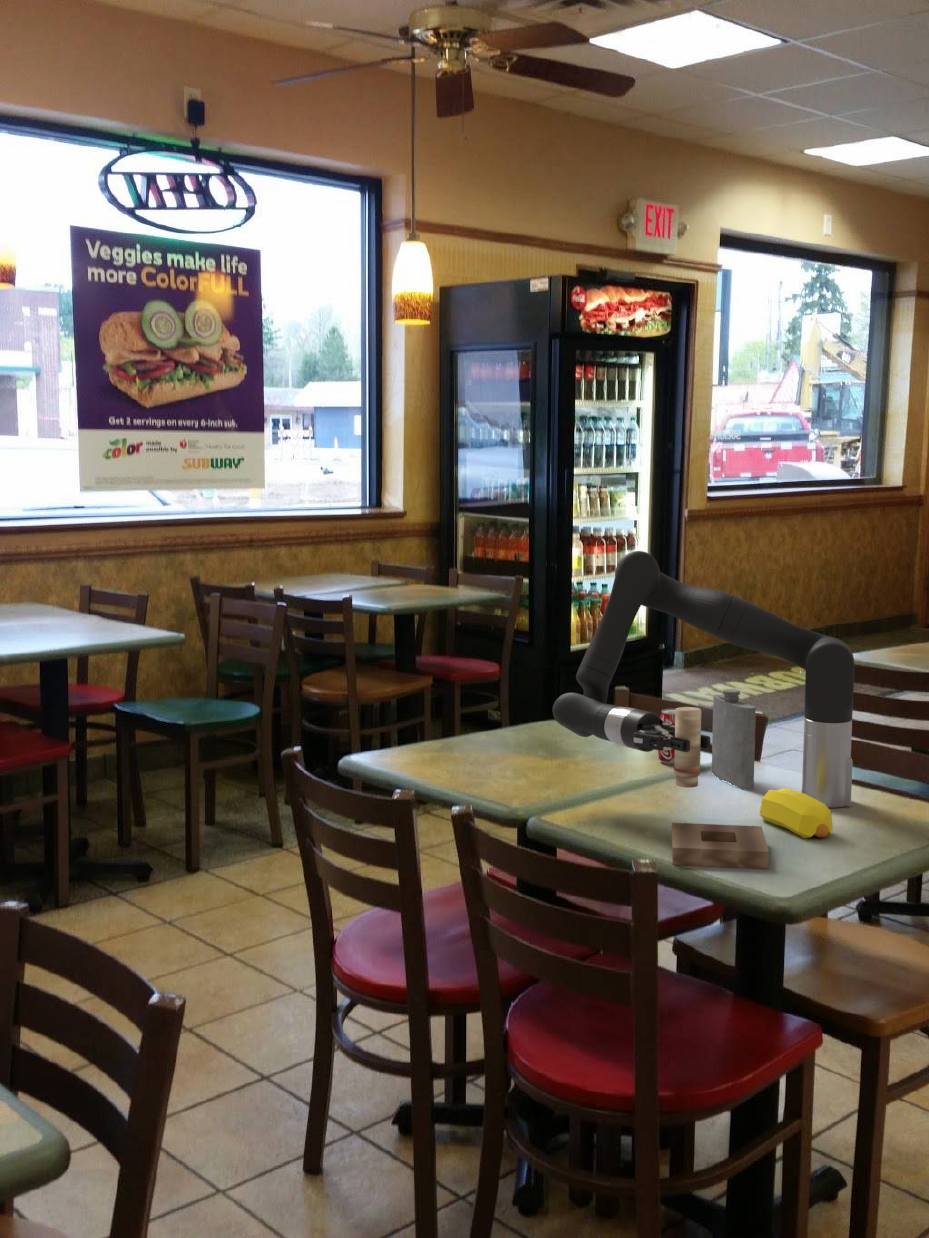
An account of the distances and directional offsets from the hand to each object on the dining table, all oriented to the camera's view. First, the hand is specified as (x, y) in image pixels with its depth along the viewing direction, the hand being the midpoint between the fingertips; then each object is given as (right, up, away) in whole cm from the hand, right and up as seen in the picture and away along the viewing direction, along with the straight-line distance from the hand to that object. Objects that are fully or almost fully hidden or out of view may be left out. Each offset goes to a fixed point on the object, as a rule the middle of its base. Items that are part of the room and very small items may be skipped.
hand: (698, 744), depth 222 cm
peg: (-2, -8, +3) cm, 8 cm away
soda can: (+6, -11, +62) cm, 63 cm away
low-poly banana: (+20, -17, +10) cm, 28 cm away
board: (+2, -19, -5) cm, 19 cm away
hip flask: (+15, -13, +45) cm, 49 cm away
